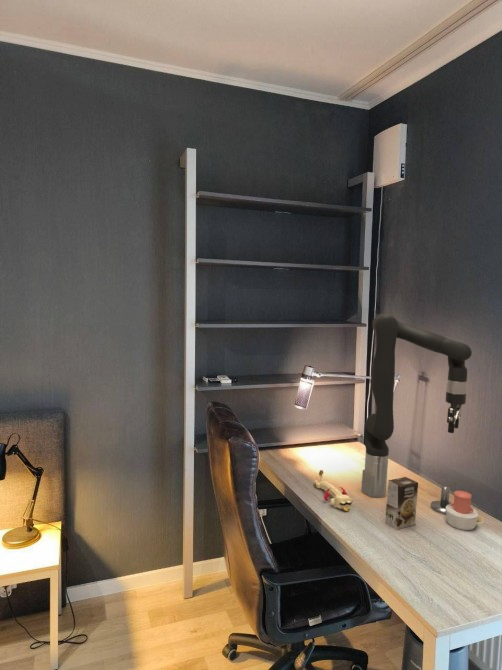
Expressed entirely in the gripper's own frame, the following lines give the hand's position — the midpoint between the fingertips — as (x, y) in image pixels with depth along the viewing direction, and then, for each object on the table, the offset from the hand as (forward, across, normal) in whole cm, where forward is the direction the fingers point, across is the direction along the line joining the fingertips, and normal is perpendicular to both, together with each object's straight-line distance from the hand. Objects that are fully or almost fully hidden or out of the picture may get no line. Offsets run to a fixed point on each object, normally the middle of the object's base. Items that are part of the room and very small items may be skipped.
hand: (453, 430), depth 190 cm
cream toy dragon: (+29, +31, -38) cm, 57 cm away
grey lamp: (+29, +11, +1) cm, 31 cm away
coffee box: (+29, +34, -9) cm, 46 cm away
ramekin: (+29, +20, +9) cm, 37 cm away
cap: (+24, +20, +9) cm, 32 cm away
